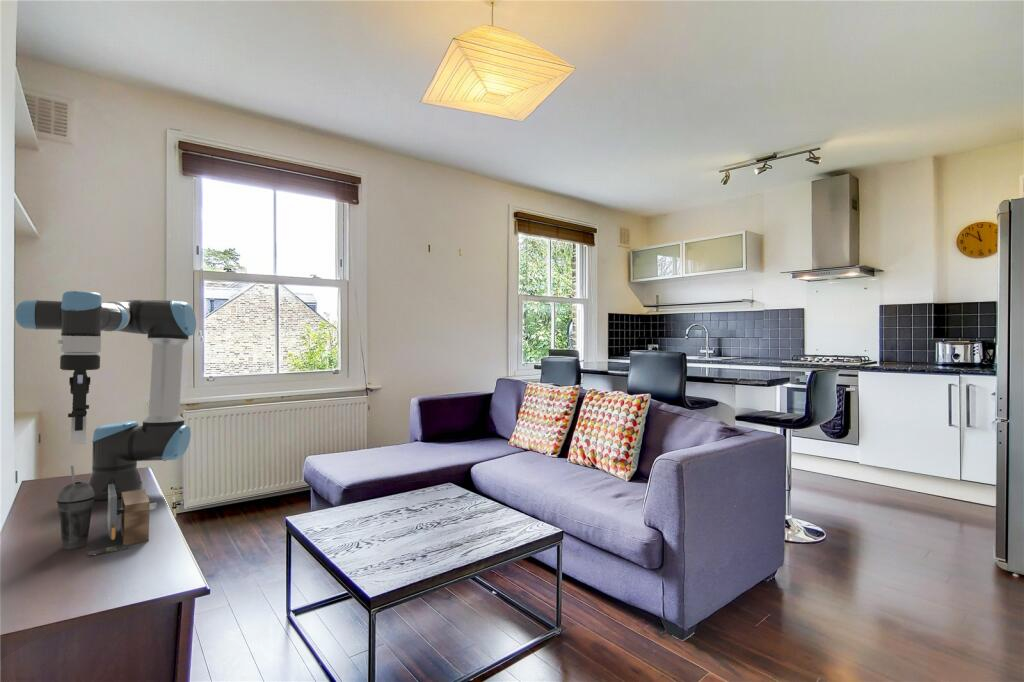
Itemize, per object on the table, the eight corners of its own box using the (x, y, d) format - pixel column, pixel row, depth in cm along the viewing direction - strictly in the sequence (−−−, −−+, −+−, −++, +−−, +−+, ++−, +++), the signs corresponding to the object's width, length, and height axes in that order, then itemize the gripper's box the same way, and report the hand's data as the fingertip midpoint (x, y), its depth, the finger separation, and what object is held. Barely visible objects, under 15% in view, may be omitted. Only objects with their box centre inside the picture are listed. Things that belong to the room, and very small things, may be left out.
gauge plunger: (109, 540, 122) (111, 499, 122) (107, 522, 134) (108, 484, 134) (160, 531, 128) (161, 491, 128) (153, 514, 140) (154, 478, 140)
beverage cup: (101, 542, 126) (103, 462, 127) (67, 553, 120) (70, 469, 120) (81, 538, 129) (84, 460, 129) (47, 548, 122) (50, 466, 122)
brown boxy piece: (88, 556, 118) (89, 513, 118) (87, 535, 131) (89, 496, 131) (149, 544, 126) (150, 504, 126) (143, 525, 139) (144, 489, 139)
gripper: (61, 352, 132) (59, 433, 131) (58, 355, 113) (56, 450, 113) (98, 352, 136) (96, 430, 136) (101, 355, 118) (99, 446, 117)
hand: (78, 439), depth 124 cm, fingers open, 13 cm apart
